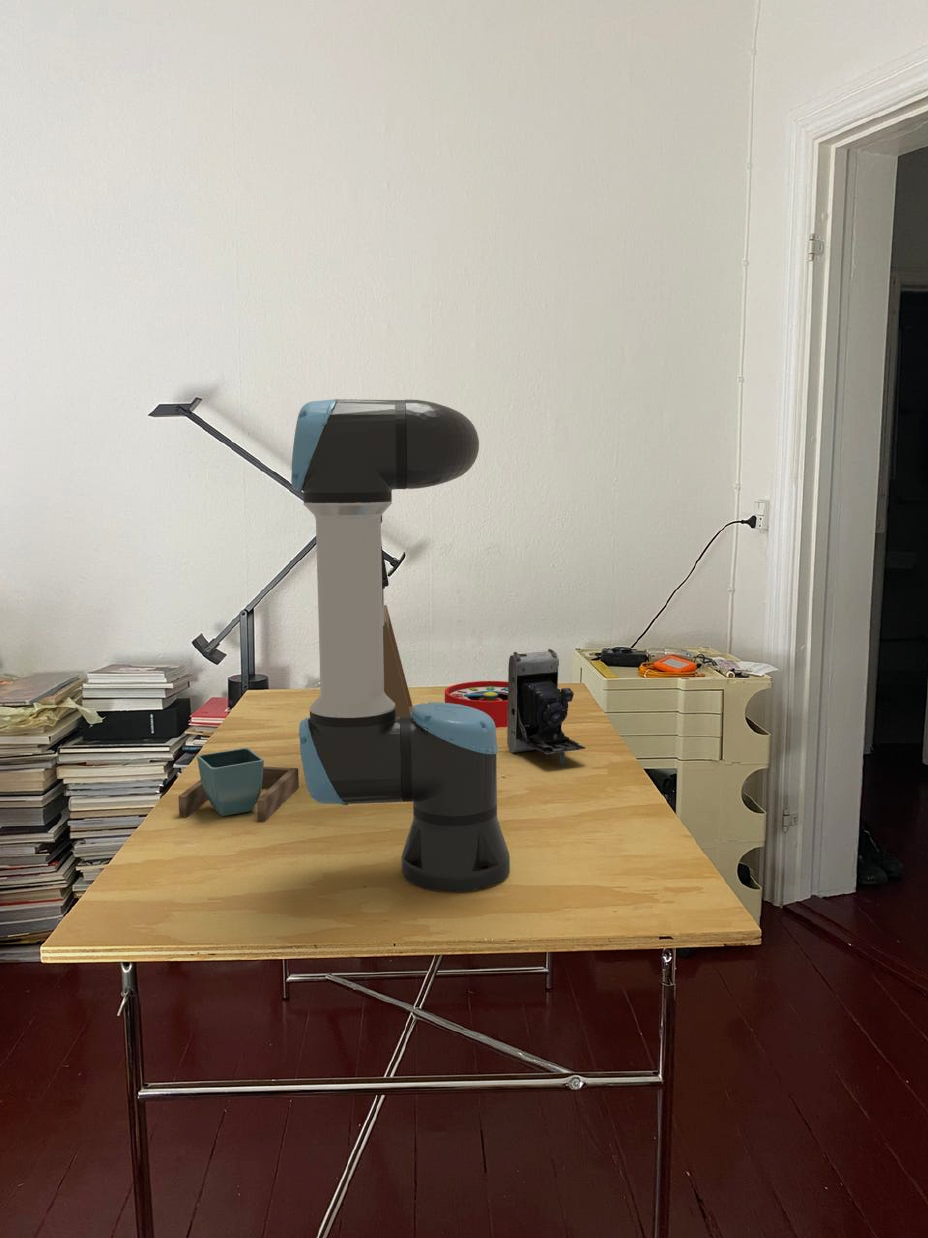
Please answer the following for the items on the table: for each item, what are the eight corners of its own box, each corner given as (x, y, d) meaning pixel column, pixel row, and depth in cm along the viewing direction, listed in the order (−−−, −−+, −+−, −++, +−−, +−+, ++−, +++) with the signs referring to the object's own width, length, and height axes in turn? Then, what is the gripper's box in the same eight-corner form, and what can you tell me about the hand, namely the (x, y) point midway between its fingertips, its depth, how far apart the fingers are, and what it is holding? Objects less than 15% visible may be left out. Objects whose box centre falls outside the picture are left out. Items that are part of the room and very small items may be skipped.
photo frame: (414, 717, 233) (412, 604, 229) (417, 745, 211) (415, 621, 207) (346, 719, 232) (343, 605, 228) (342, 747, 210) (338, 622, 206)
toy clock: (537, 701, 223) (442, 701, 223) (537, 729, 224) (442, 728, 224) (534, 680, 242) (446, 680, 243) (534, 705, 243) (447, 705, 244)
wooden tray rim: (264, 821, 169) (264, 800, 168) (179, 817, 171) (178, 796, 171) (298, 787, 186) (298, 768, 185) (220, 783, 188) (219, 764, 187)
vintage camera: (542, 774, 193) (546, 668, 190) (504, 750, 207) (507, 650, 203) (588, 769, 197) (593, 664, 194) (548, 744, 211) (552, 646, 207)
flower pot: (198, 807, 176) (195, 754, 175) (249, 798, 180) (247, 746, 179) (213, 823, 168) (211, 768, 167) (267, 813, 173) (265, 760, 171)
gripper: (406, 505, 180) (408, 629, 183) (358, 498, 202) (360, 608, 206) (364, 506, 177) (366, 632, 180) (319, 499, 199) (323, 611, 203)
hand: (363, 620), depth 193 cm, fingers open, 13 cm apart
